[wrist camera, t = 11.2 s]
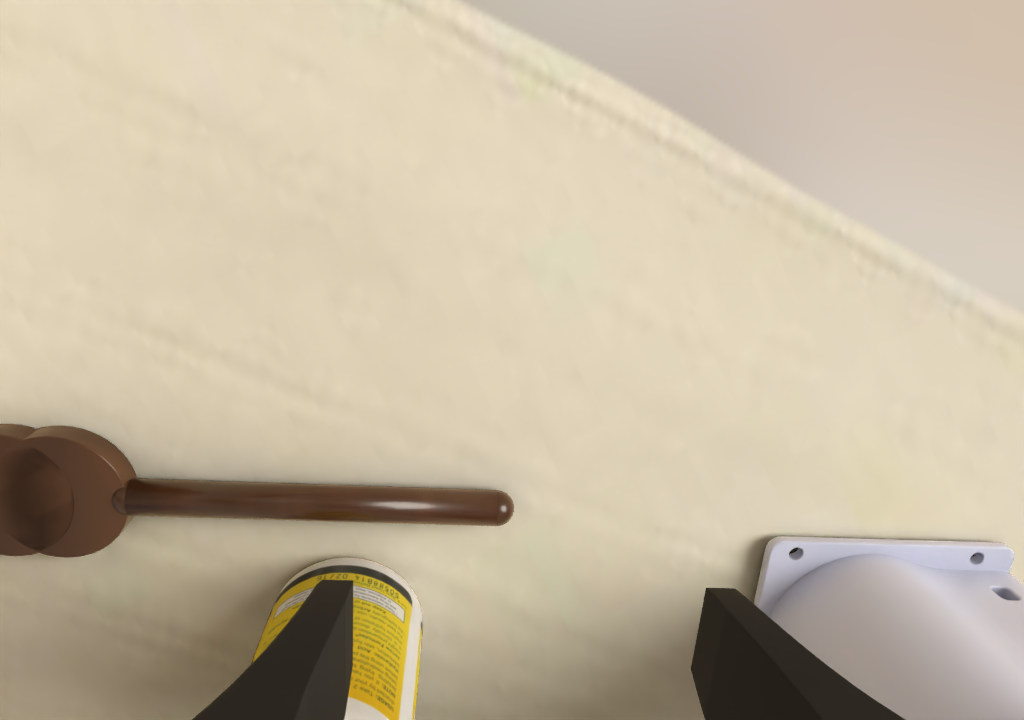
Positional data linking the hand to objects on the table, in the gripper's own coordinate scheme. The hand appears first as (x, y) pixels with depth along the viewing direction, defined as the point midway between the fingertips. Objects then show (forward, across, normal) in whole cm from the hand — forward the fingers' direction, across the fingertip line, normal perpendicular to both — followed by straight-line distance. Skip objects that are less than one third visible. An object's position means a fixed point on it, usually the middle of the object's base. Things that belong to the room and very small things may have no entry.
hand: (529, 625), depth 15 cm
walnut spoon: (+10, +9, +3) cm, 14 cm away
